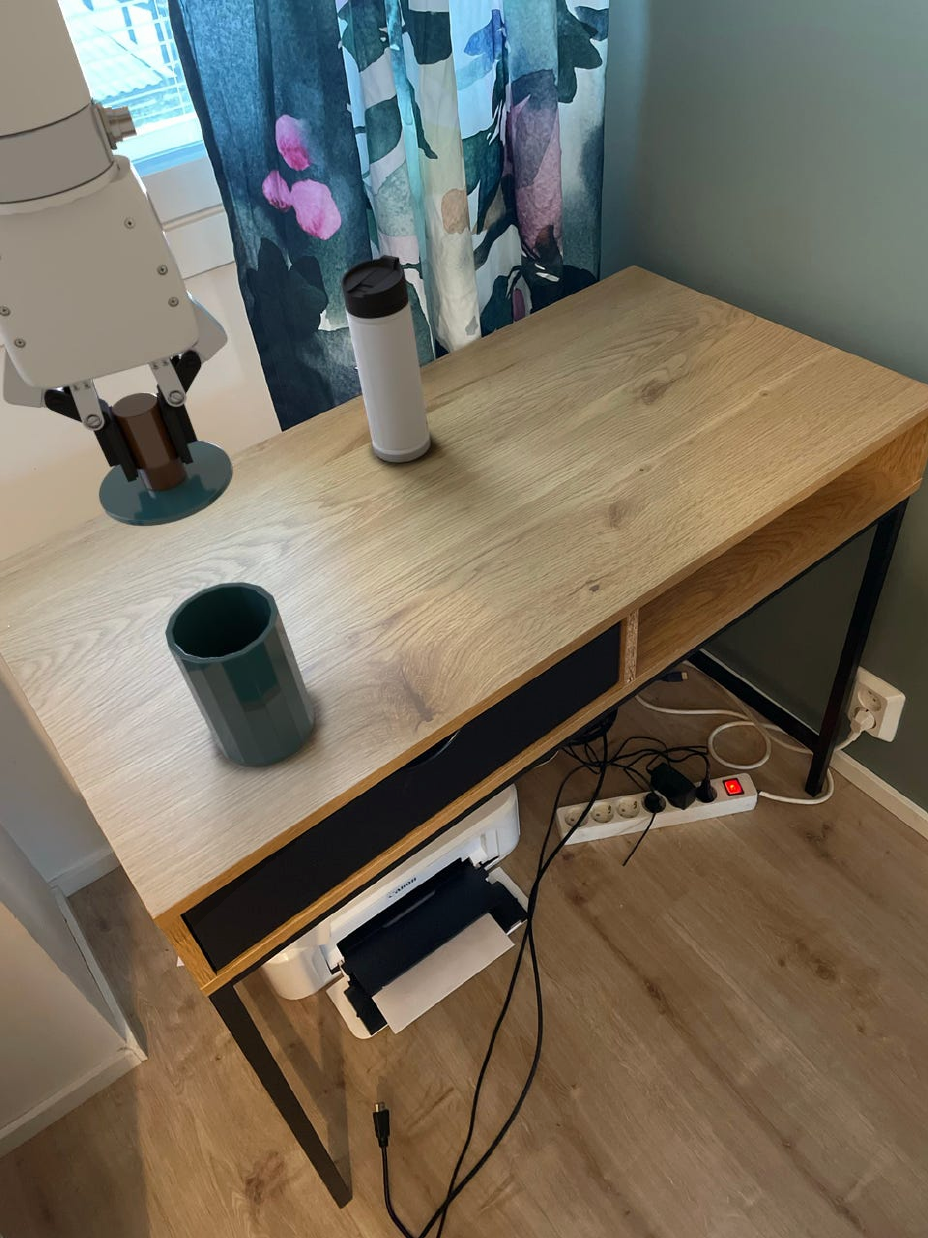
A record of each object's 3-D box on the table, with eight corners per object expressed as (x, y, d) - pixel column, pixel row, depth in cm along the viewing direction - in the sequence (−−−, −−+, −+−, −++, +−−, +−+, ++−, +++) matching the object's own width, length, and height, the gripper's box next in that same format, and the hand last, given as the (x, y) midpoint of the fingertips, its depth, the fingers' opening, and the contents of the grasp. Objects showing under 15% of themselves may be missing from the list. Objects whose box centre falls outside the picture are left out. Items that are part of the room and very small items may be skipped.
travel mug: (443, 436, 99) (419, 259, 85) (409, 469, 96) (378, 290, 81) (397, 423, 102) (366, 249, 88) (363, 455, 98) (325, 278, 84)
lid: (113, 550, 55) (68, 462, 50) (98, 476, 61) (57, 391, 56) (248, 507, 57) (218, 418, 52) (221, 439, 63) (192, 353, 58)
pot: (227, 781, 70) (175, 678, 61) (209, 708, 75) (158, 604, 66) (326, 744, 71) (288, 638, 62) (300, 675, 76) (263, 569, 68)
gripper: (181, 99, 48) (267, 397, 61) (-139, 170, 45) (25, 469, 58) (207, 138, 43) (295, 453, 56) (-151, 221, 40) (31, 535, 53)
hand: (157, 459), depth 57 cm, fingers closed on lid, 2 cm apart
